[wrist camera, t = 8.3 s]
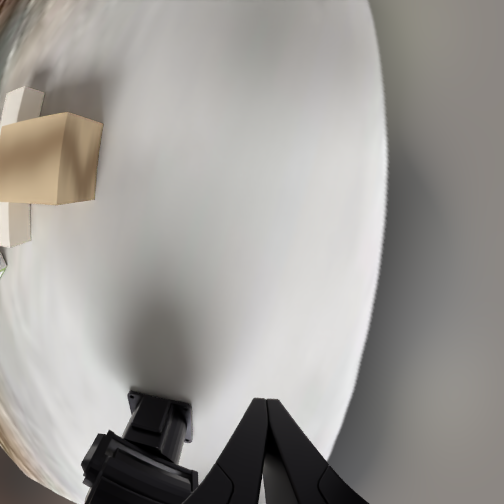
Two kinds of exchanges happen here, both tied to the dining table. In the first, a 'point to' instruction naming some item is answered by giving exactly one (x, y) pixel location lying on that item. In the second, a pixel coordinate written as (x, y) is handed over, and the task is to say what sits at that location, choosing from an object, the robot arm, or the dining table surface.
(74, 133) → the oak block
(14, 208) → the plank
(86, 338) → the dining table surface
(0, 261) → the syrup box
